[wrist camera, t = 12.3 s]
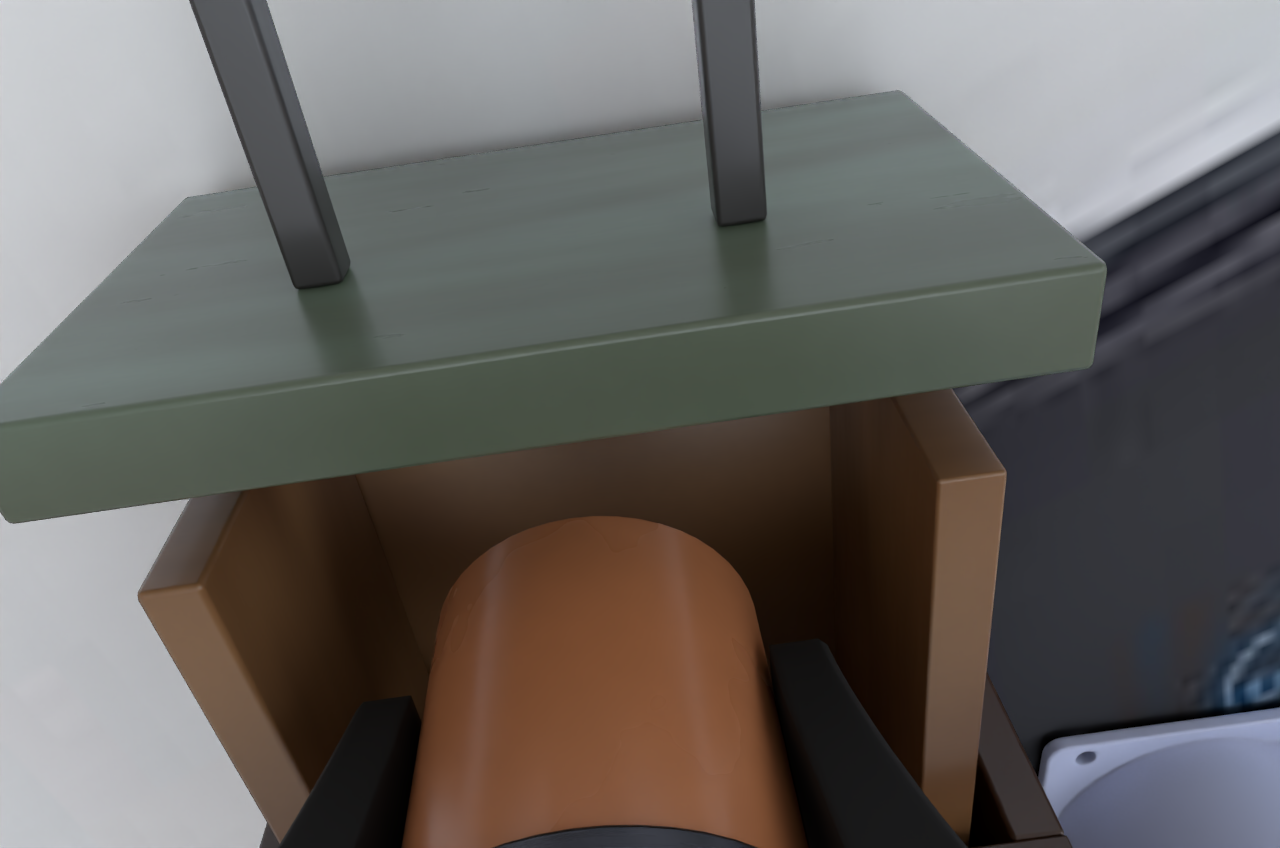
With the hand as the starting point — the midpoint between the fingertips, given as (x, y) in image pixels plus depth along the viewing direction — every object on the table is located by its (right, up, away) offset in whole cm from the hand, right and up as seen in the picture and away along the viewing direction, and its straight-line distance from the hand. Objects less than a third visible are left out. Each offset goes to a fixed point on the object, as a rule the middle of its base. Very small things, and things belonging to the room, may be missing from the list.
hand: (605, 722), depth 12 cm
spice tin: (0, +1, +1) cm, 1 cm away
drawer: (-1, +5, +5) cm, 7 cm away
